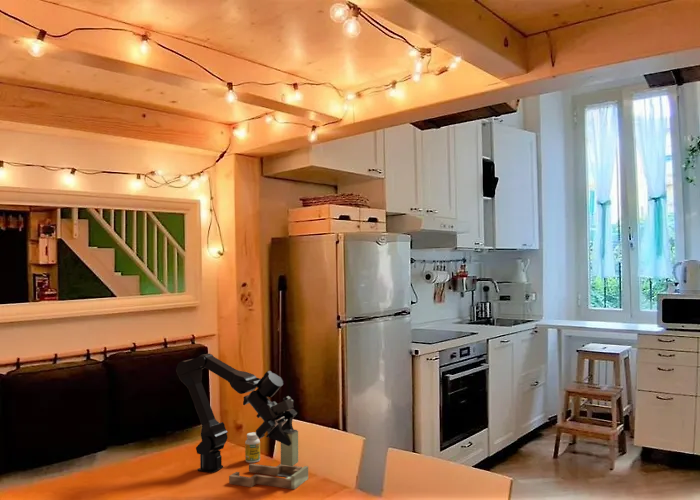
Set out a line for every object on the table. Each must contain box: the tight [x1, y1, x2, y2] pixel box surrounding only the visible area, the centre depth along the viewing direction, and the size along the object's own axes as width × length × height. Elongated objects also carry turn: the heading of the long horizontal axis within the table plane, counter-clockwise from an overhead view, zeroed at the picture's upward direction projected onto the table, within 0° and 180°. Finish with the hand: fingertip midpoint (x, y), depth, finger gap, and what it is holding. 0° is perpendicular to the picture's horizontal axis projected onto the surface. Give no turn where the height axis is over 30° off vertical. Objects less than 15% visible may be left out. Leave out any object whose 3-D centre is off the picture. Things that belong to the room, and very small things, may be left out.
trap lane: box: [228, 463, 309, 490], centre depth 191 cm, size 22×16×4 cm
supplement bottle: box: [244, 431, 261, 464], centre depth 210 cm, size 5×5×10 cm
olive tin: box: [280, 428, 299, 466], centre depth 189 cm, size 4×4×10 cm
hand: (293, 443), depth 188 cm, fingers closed on olive tin, 4 cm apart
